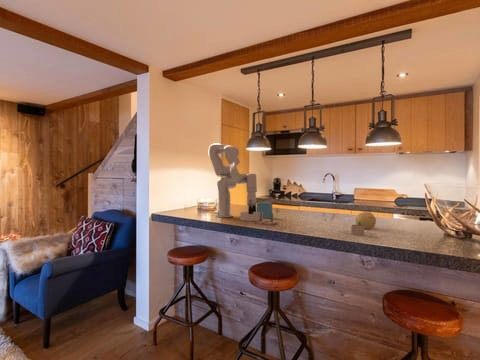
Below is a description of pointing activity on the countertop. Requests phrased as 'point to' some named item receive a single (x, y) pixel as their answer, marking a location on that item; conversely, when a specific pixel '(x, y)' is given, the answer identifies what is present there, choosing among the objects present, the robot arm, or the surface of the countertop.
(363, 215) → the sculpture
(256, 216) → the power strip
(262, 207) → the data package
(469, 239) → the countertop surface
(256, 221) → the post plate
